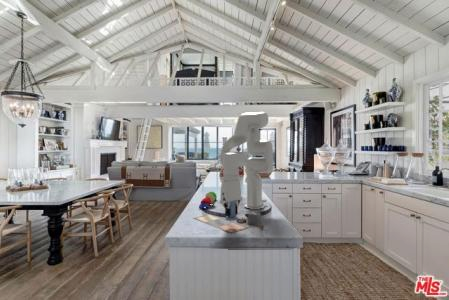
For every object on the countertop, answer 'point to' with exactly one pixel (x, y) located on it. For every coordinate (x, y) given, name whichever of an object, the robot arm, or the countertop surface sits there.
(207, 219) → the board
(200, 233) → the countertop surface
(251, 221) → the die
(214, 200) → the toy
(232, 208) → the pawn
